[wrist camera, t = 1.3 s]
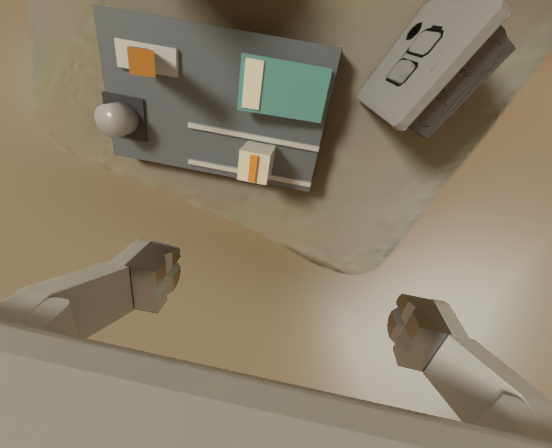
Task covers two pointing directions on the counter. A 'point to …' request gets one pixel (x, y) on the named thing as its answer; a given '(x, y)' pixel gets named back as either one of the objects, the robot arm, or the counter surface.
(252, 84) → the teal tile cream strip
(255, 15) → the counter surface
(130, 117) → the button
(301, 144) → the panel
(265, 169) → the cream cube orange stripe
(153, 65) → the toggle lever
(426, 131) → the electrical switch
